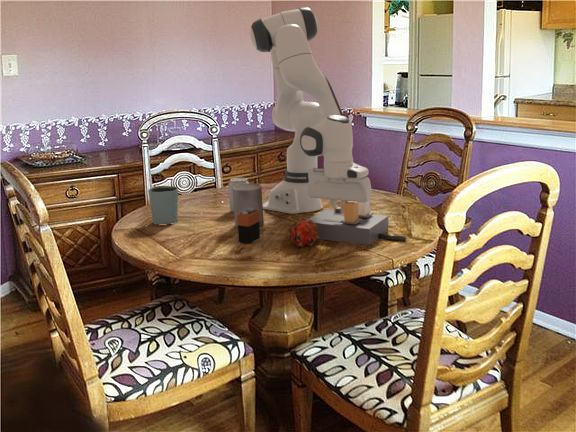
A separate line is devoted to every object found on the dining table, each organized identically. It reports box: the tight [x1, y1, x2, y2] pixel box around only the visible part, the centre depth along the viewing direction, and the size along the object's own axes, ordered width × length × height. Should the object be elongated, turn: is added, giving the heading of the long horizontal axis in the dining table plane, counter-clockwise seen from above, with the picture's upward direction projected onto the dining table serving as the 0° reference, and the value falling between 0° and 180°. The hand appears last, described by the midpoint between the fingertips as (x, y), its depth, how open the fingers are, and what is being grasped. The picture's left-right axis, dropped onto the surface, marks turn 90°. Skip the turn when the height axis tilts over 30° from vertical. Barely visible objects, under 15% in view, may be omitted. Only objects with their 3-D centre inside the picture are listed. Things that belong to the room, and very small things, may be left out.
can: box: [228, 177, 250, 213], centre depth 235 cm, size 8×8×12 cm
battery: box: [237, 207, 261, 245], centre depth 199 cm, size 4×7×10 cm, turn 153°
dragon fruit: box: [289, 218, 320, 249], centre depth 193 cm, size 8×8×12 cm
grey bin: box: [147, 185, 179, 225], centre depth 223 cm, size 10×10×12 cm
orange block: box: [341, 201, 362, 224], centre depth 196 cm, size 5×5×6 cm
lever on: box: [358, 199, 374, 218], centre depth 203 cm, size 5×5×6 cm
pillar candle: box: [233, 181, 265, 229], centre depth 214 cm, size 10×10×15 cm
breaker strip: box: [305, 209, 407, 246], centre depth 201 cm, size 31×16×5 cm, turn 61°
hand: (339, 213), depth 198 cm, fingers closed
